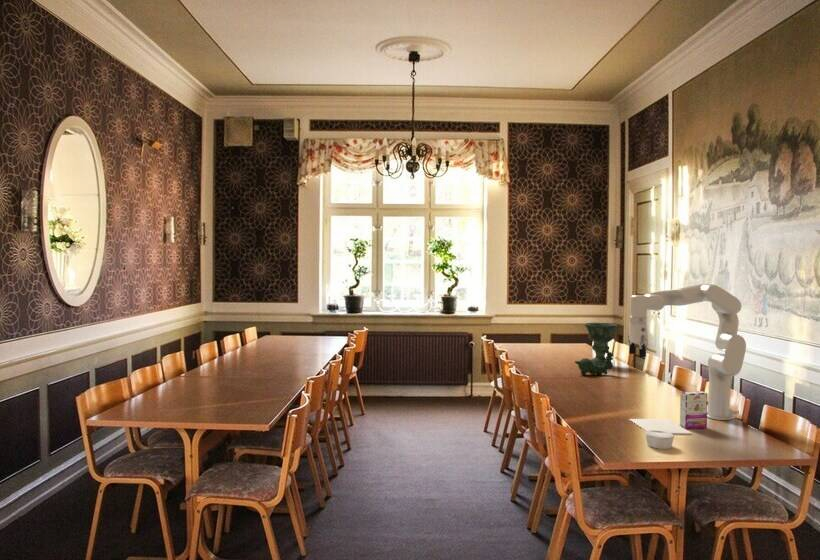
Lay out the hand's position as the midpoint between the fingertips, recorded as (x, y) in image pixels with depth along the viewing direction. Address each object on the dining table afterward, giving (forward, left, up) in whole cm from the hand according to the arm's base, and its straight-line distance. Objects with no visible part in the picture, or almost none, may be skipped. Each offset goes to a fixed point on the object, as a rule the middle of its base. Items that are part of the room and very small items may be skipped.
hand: (637, 355), depth 311 cm
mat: (-4, +17, -31) cm, 35 cm away
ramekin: (+9, +46, -31) cm, 56 cm away
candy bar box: (-20, +17, -31) cm, 41 cm away
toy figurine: (-16, -109, -31) cm, 115 cm away
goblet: (-33, -144, -31) cm, 151 cm away
